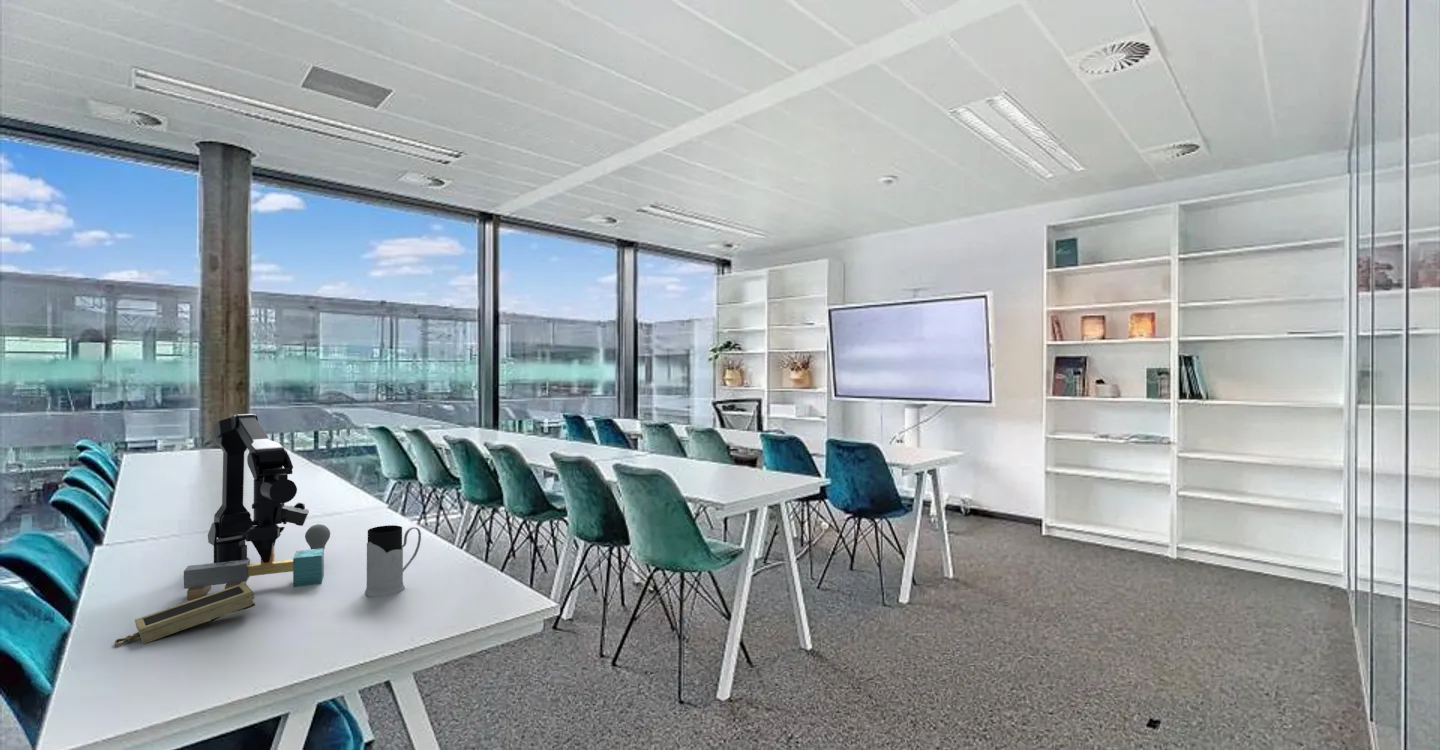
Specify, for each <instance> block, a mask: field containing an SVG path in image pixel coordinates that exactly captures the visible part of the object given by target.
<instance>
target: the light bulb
mask: <svg viewBox="0 0 1440 750" xmlns="http://www.w3.org/2000/svg"><path fill="white" fill-rule="evenodd" d="M330 537H331V531H330V528H329V527H327V526H326V525H324V524H319V523H317V524H315V525H311V526H310V527H309V528H308V529H307V530H306V532H305V534H304V538H305V542H306V543H307V545H309V547H310V550H311V549H321V548H324V550H325V549H326V545H327V543H328V541H329V540H330Z"/></svg>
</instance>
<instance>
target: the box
mask: <svg viewBox="0 0 1440 750" xmlns="http://www.w3.org/2000/svg"><path fill="white" fill-rule="evenodd" d="M254 595H255V593H254V591H253V590H252V589H251V588H250V587H249V585H247V583H246V584H244V583H242V584H239V585H236V586H233V587H230V588H227V589H225V588H224V589H222V590H219V591H216V592H212V593H210V594H207V595H206V596H203V597H201V598H198V599H195V600H191V601H186V602H183V603H180V604H176V605H173V606H171V607H167V608H165V609H161V610H159V611H157V612H153V613H151V614H150V613H149V614H147V615H144V616H141V617H139V618H135V619H134V623H135V626H136V629H137V632H135V633H133V634H132V635H127V636H125V637H123V638H122V637H121V638H117V639H115V641H114V645H115V647H117V648H119V647H122V646H123V645H124V644H126V643H131V642H133V641H135V640H138V639H140V640H141V642H142V644H148V643H150V642H153V641H157V640H159V639H161V638H165V637H166V636H170V635H172V634H175V633H178V632H182V631H184V630H187V629H189V628H192V627H195V626H198V625H200V624H203V623H206V622H208V623H209V625H211V624H212V623H214V622H215V621H217V620H219V619H220V618H222V617H224V616H226V615H230V614H233V613H236V612H237V613H238V612H241V611H245V610H247V609H251V608H252V607H253V608H254V607H255V606H256V602H254V601H253V600H254V599H255V596H254Z"/></svg>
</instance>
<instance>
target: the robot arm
mask: <svg viewBox="0 0 1440 750" xmlns="http://www.w3.org/2000/svg"><path fill="white" fill-rule="evenodd" d="M213 436H214V438H215V442H216V444H217V446H218V447H219V448H220V449H221V451H222V452H223V453H222V494H221V495H222V496H221V497H222V498H221V501H222V502H221V506H219V508H217V511H216V512H215V514H214V515H213V522H212V523H211V526H210V528H209V530H208V533H207V543H208V544H210V545H212V546H213V563H220V562H229V561H239V560H248V559H250V558H249V557H248V545H247V544H246V542H251V543H252V545H253V547H254V548H255V550H256V551H257V554H259V557H260V560H261V559H262V560H263V562H264V563H268V562H269V561H270V557H271V552H272V547H273V545H274V547H275V545H276V541H277V539H278V538H280V536H281V534H282V532H283V531H284V530H285V528H286V527H285V526H279V524H280V525H281V524H282V525H287V524H288V523H289V524H295V525H296V526H299V527H300V526H301V527H303V526H304V525H305V522H306V520H307V518H308V515H309V512H310V510H309V509H307V508H306V506H305V503H304V502H297V503H296V504H295V505H294V506H293V505H286V503H288V502H291V501H292V500H293V499H294V498H295V497H296V495H297V493H298V487H297V485H296V483H295V481H293V480H291V479H289V477H288V475H293V469H294V466H293V463H292V461H291V458H290V454H288V451H287V450H286V449H285V448H284V446H283V445H282V444H280V442H277V441H274V440H272V439H270V438H269V437H268V435H267V433H266V431H265V430H264V429H263V427H262V426H261V424H260V423H259V419H258V415H257V414H254V413H238V414H234V415H232V416H231V417H227V418H225V419H221V420H219V421H217V422H216V423H215V424H214V425H213ZM247 450H248V454H247V457H246V460H247V466H248V468H249V471H250V473H251V475H252V478H253V503H252V504H251V509H252V510H253V520H252V518H251V513H250V511H248V509H247V508H246V507H245V506H244V483H245V482H244V479H245V477H244V476H245V452H246V451H247Z"/></svg>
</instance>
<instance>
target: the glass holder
mask: <svg viewBox="0 0 1440 750" xmlns="http://www.w3.org/2000/svg"><path fill="white" fill-rule="evenodd" d="M412 530H417V533H418V538H417V540H418V541H417V544H416V548H415V550H414V553H413V554H412V556H411V558H410V559H409V561H407V563H406V564H405V565H403V564H404V547H406V545H407V541H408V534H409V533H410V532H411V531H412ZM421 534H422V533H421V530H420V529H419V528H418V527H414V526H413V527H410V528H408V529H407V530H406V532H405V534H404V537H403V527H402V526H401V525H396V524H395V525H393V524H392V525H390V524H389V525H381V526H375V527H371V528H369V529H368V530H367V543H366V586H365V587H366V589H365V590H364V595H365V596H366V597H367V596H368V597H372V598H373V597H375V598H377V597H378V598H380V597H387V596H393V595H396V594H400V593H401V592H404V590H405V589H406V588H405V587H406V586H405V585H404V572H405V571H406V570H407V568H408V567H409V565H410V564H411V563H412V562H413V560H415V558H416V556H417V554H418V552H419V549H420V546H421V542H422V535H421Z"/></svg>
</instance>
